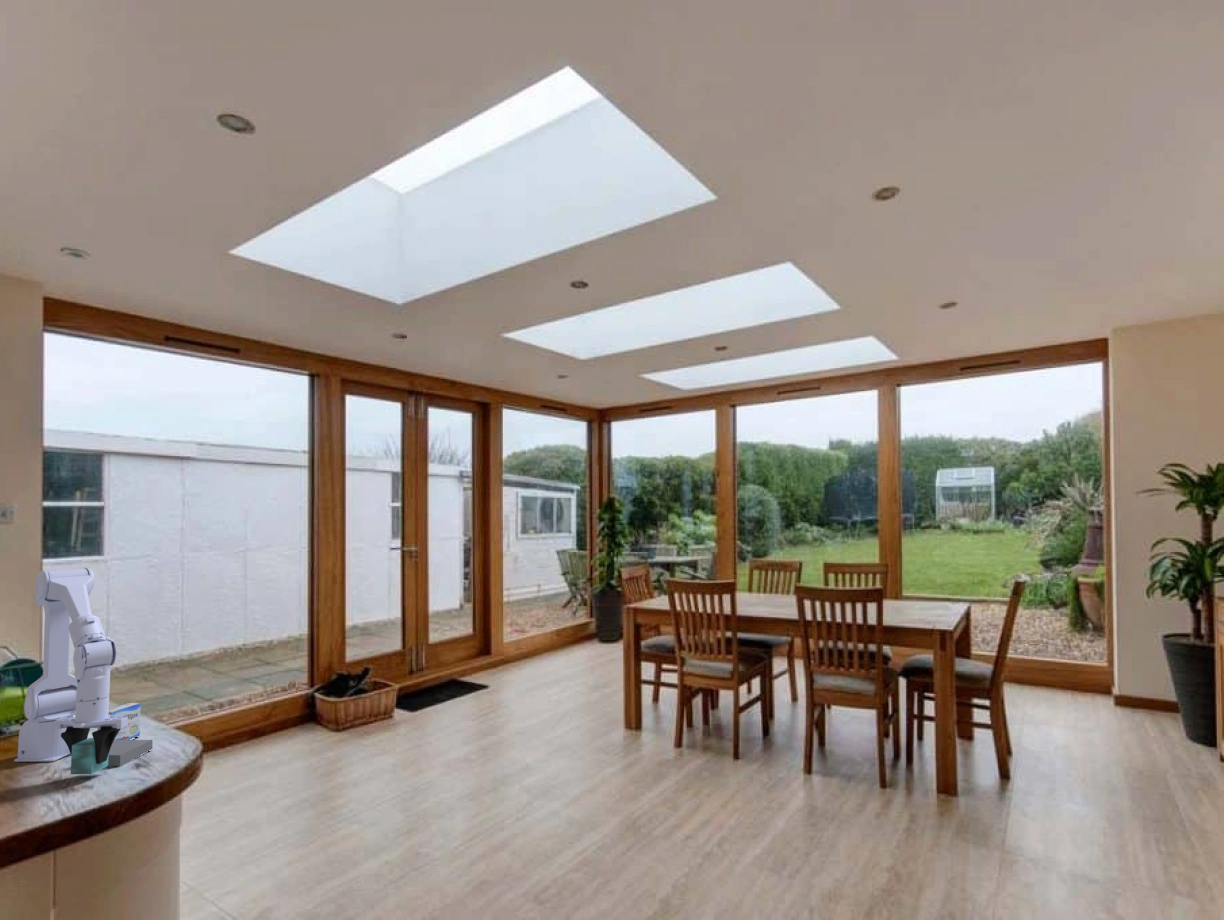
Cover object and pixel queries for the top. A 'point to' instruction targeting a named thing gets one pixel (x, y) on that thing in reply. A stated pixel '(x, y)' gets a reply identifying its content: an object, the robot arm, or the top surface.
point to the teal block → (85, 758)
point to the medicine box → (133, 720)
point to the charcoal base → (127, 750)
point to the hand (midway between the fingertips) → (90, 762)
